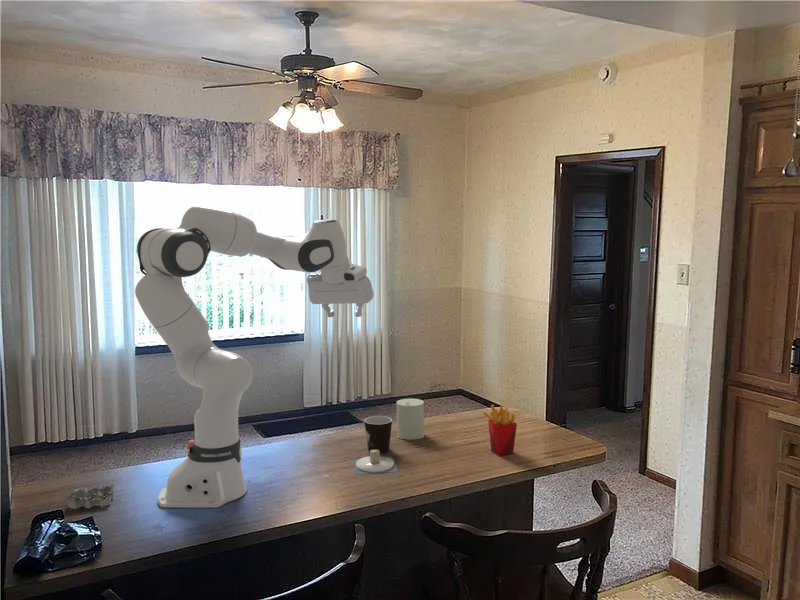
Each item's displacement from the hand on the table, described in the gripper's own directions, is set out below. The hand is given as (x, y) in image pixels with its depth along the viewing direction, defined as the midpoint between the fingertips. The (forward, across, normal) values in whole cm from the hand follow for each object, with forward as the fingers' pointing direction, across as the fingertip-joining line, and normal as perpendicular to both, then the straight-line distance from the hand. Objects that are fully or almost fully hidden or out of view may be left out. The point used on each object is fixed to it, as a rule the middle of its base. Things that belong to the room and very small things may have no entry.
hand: (345, 316), depth 201 cm
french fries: (+49, +40, +6) cm, 64 cm away
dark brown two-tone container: (+44, +4, -4) cm, 44 cm away
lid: (+40, +10, -16) cm, 45 cm away
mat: (+41, +10, -16) cm, 45 cm away
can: (+48, +8, +12) cm, 50 cm away
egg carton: (+26, -47, -65) cm, 84 cm away
